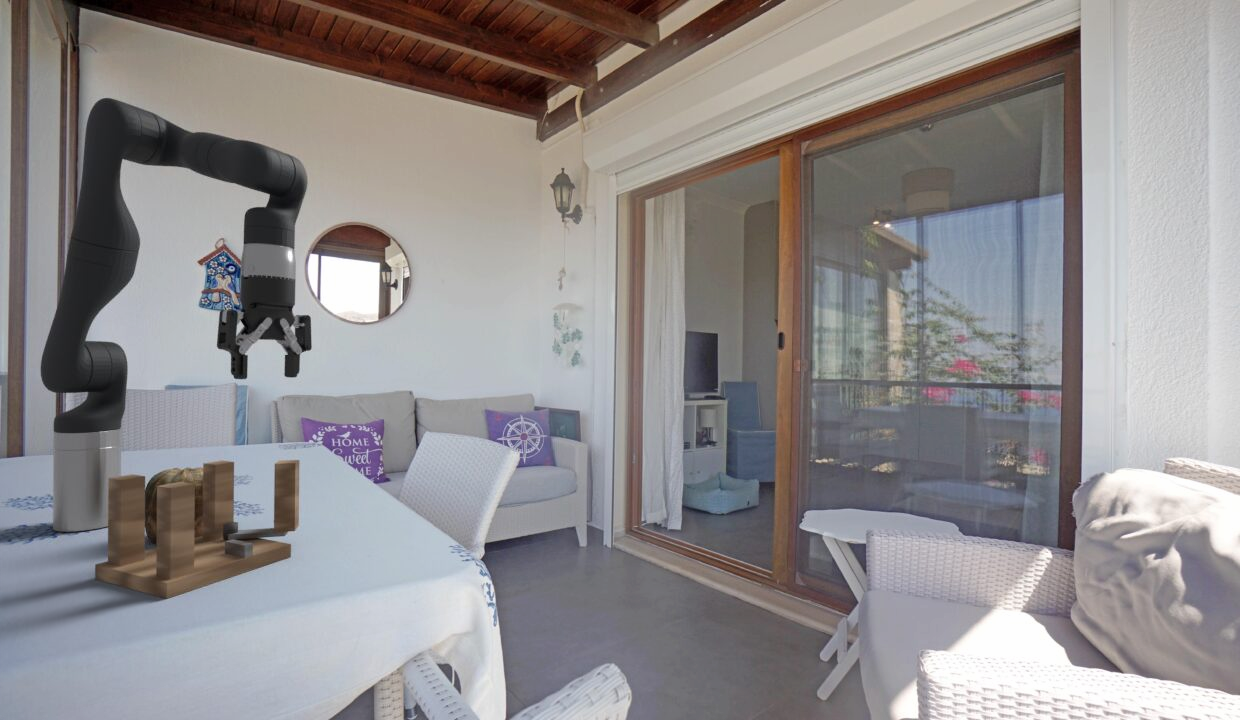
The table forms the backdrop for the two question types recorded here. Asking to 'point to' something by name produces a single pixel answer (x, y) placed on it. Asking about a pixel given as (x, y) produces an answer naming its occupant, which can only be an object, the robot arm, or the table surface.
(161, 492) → the wooden peg stand
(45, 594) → the table surface
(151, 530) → the shell
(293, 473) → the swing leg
